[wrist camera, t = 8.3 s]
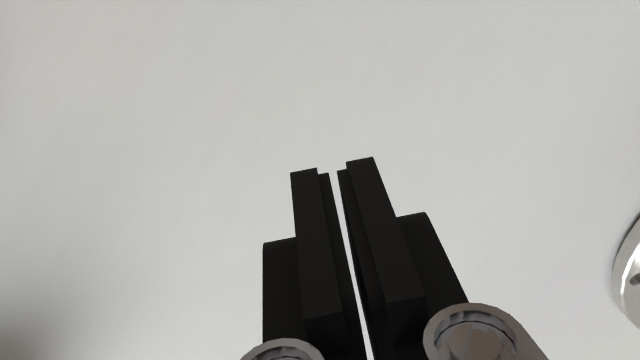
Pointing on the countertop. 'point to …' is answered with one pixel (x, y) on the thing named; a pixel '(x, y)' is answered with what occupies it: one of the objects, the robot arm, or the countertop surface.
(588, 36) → the countertop surface
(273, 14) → the countertop surface
